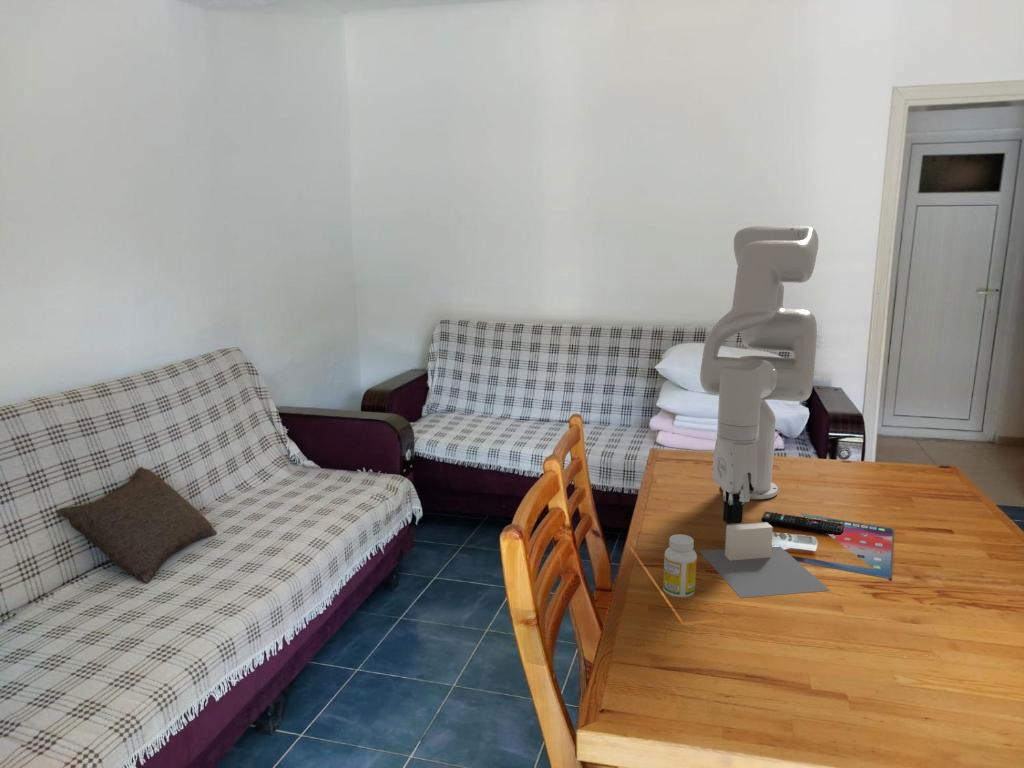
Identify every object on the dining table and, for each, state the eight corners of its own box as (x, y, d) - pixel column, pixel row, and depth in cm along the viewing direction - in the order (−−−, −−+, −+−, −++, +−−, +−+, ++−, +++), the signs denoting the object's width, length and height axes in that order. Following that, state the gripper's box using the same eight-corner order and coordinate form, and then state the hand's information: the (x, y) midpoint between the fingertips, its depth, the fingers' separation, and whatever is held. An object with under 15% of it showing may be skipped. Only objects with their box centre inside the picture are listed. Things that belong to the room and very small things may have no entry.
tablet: (894, 531, 151) (894, 527, 151) (891, 583, 130) (892, 579, 130) (794, 515, 160) (794, 511, 160) (776, 562, 138) (776, 558, 138)
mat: (699, 553, 142) (699, 551, 141) (778, 547, 144) (778, 545, 144) (740, 600, 124) (740, 597, 124) (830, 592, 126) (830, 590, 126)
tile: (724, 554, 140) (726, 524, 138) (764, 551, 141) (766, 522, 140) (729, 560, 137) (731, 530, 136) (770, 557, 139) (772, 527, 137)
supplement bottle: (666, 599, 125) (668, 546, 123) (660, 583, 130) (662, 532, 128) (698, 599, 125) (701, 545, 123) (691, 583, 130) (693, 532, 128)
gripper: (703, 421, 148) (699, 508, 152) (736, 443, 133) (730, 539, 137) (739, 419, 149) (734, 506, 153) (775, 441, 134) (768, 536, 138)
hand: (732, 521), depth 145 cm, fingers closed
